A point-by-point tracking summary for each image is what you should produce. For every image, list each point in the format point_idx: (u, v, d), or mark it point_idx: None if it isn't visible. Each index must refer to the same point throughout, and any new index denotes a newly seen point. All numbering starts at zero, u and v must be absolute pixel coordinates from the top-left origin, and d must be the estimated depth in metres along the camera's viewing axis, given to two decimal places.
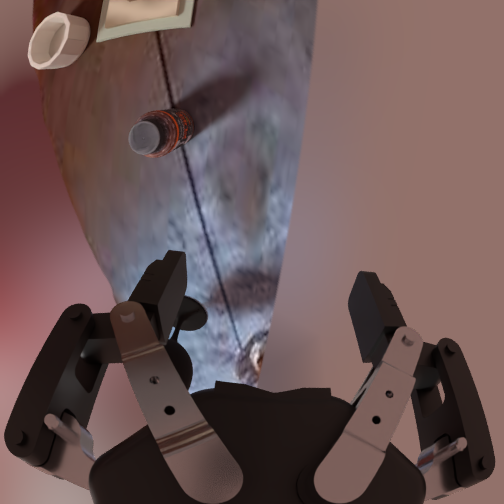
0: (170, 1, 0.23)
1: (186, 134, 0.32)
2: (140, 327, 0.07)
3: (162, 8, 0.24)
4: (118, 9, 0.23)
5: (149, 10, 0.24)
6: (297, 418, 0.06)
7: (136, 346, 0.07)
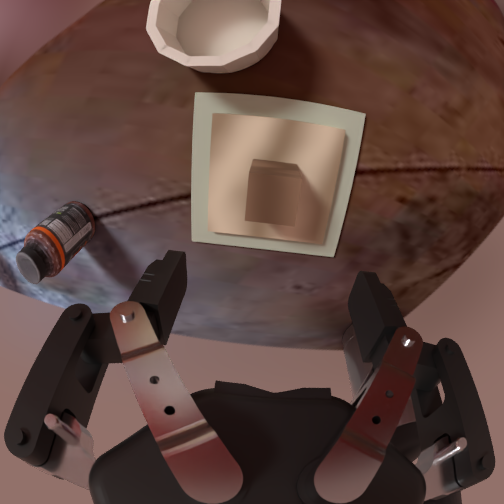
0: (232, 223, 0.27)
1: None
2: (140, 327, 0.07)
3: (222, 213, 0.27)
4: (243, 138, 0.23)
5: (222, 193, 0.26)
6: (297, 418, 0.06)
7: (136, 346, 0.07)
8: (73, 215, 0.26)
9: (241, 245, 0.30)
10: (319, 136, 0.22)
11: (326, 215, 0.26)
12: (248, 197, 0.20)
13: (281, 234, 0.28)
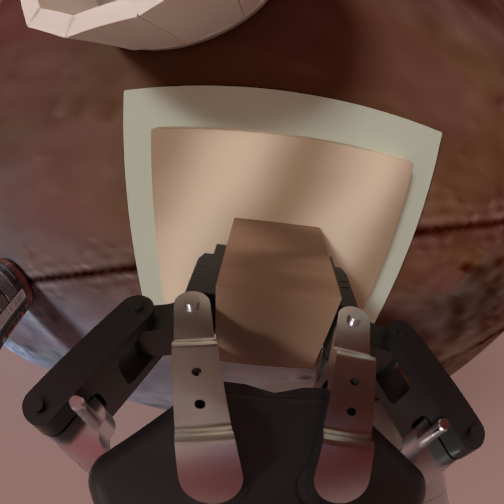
0: None
1: None
2: (209, 315, 0.08)
3: None
4: (214, 177, 0.12)
5: (184, 275, 0.15)
6: (297, 418, 0.06)
7: (191, 336, 0.07)
8: None
9: None
10: (366, 174, 0.11)
11: (361, 306, 0.15)
12: (219, 329, 0.09)
13: None
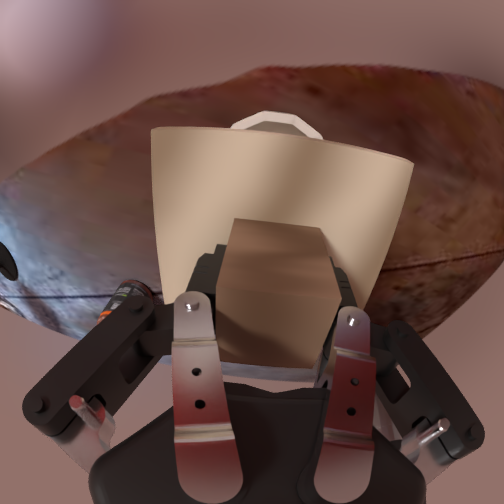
0: None
1: None
2: (209, 315, 0.08)
3: None
4: (214, 178, 0.12)
5: (184, 276, 0.15)
6: (297, 418, 0.06)
7: (191, 336, 0.07)
8: None
9: None
10: (366, 174, 0.11)
11: (361, 306, 0.15)
12: (219, 330, 0.09)
13: None
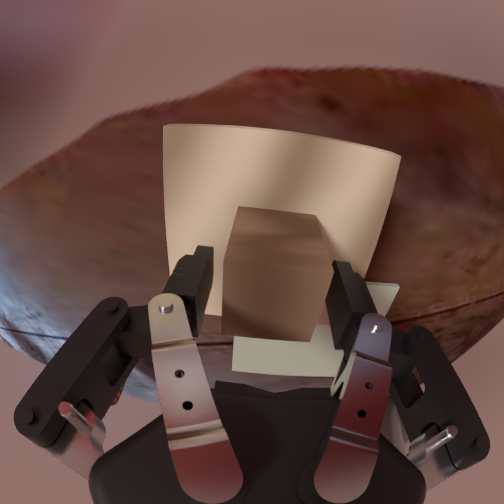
0: (209, 302, 0.17)
1: None
2: (181, 318, 0.08)
3: None
4: (220, 169, 0.13)
5: None
6: (297, 418, 0.06)
7: (169, 338, 0.07)
8: None
9: (275, 373, 0.32)
10: (357, 166, 0.12)
11: None
12: (225, 302, 0.11)
13: None
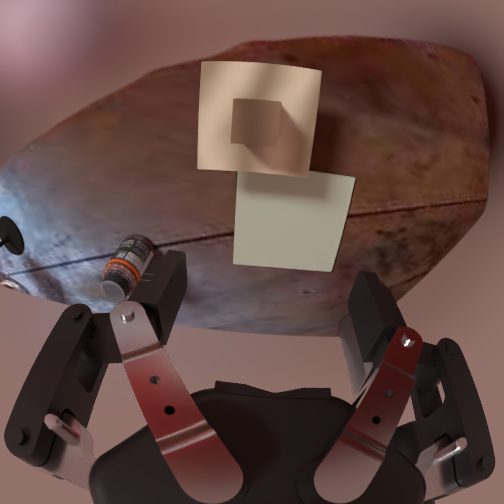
0: (221, 159, 0.28)
1: None
2: (140, 327, 0.07)
3: (211, 150, 0.27)
4: (229, 80, 0.23)
5: (211, 131, 0.26)
6: (297, 418, 0.06)
7: (136, 346, 0.07)
8: (140, 247, 0.39)
9: (268, 266, 0.43)
10: (297, 76, 0.22)
11: (309, 148, 0.27)
12: (233, 120, 0.21)
13: (267, 168, 0.28)
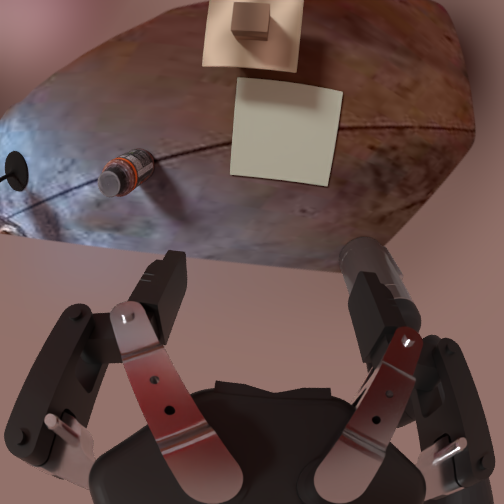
0: (222, 58, 0.27)
1: None
2: (140, 327, 0.07)
3: (215, 51, 0.27)
4: (232, 3, 0.23)
5: (215, 37, 0.26)
6: (297, 418, 0.06)
7: (136, 346, 0.07)
8: (141, 154, 0.39)
9: (264, 177, 0.42)
10: (285, 0, 0.22)
11: (296, 49, 0.26)
12: (233, 15, 0.21)
13: (261, 64, 0.28)
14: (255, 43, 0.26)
